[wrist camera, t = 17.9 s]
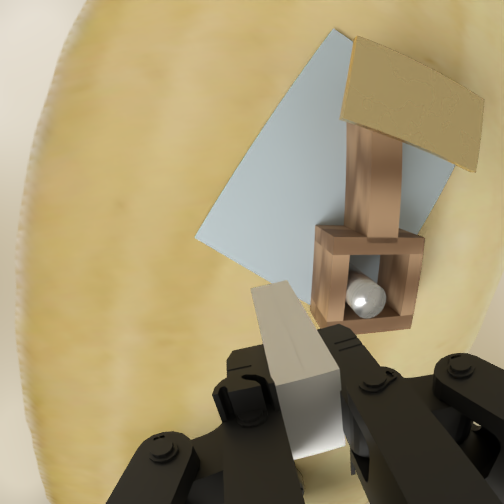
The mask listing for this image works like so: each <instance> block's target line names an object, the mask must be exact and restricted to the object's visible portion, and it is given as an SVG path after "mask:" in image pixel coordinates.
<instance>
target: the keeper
mask: <svg viewBox="0 0 504 504" xmlns="http://www.w3.org/2000/svg"><path fill="white" fill-rule="evenodd" d="M483 110H484V99H483V98H481V97H480V96H478V95H476V94H475V93H473V92H472V91H470V90H468V89H467V88H465V87H463V86H462V85H460V84H458V83H457V82H455V81H453V80H452V79H450V78H448V77H446V76H444V75H443V74H441V73H439V72H437V71H435V70H433V69H431V68H429V67H428V66H426V65H424V64H422V63H420V62H418V61H416V60H414V59H411V58H409V57H407V56H405V55H403V54H401V53H399V52H396V51H394V50H392V49H390V48H387V47H385V46H383V45H380V44H378V43H375V42H373V41H370V40H368V39H365V38H363V37H360V36H356V37H355V38H354V40H353V47H352V53H351V58H350V64H349V70H348V76H347V81H346V86H345V92H344V97H343V102H342V108H341V113H340V118H339V120H341V121H345V122H348V123H351V124H354V125H357V126H360V127H363V128H366V129H368V130H371V131H374V132H377V133H380V134H382V135H385V136H388V137H390V138H393V139H396V140H398V141H401V142H403V143H406V144H408V145H411V146H413V147H416V148H418V149H421V150H423V151H425V152H428V153H430V154H432V155H435V156H437V157H439V158H441V159H444V160H446V161H448V162H450V163H452V164H454V165H457V166H459V167H461V168H463V169H465V170H467V171H469V172H476V168H477V162H478V155H479V148H480V140H481V132H482V122H483Z"/></svg>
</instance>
